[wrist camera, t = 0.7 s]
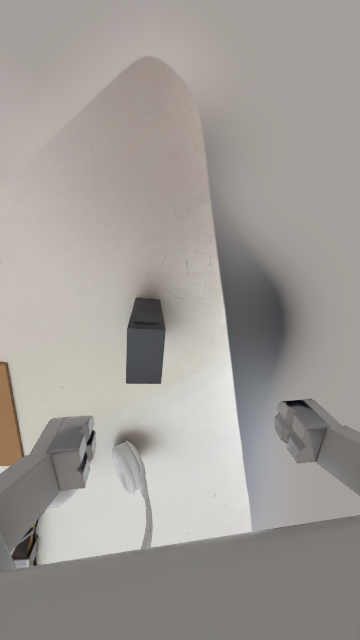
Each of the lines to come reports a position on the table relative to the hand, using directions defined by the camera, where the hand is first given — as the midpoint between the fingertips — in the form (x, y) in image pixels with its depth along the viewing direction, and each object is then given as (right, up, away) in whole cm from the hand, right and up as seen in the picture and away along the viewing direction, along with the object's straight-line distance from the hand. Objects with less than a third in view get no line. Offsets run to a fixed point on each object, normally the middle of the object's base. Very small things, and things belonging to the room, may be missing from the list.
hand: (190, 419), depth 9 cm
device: (-5, +5, +23) cm, 24 cm away
